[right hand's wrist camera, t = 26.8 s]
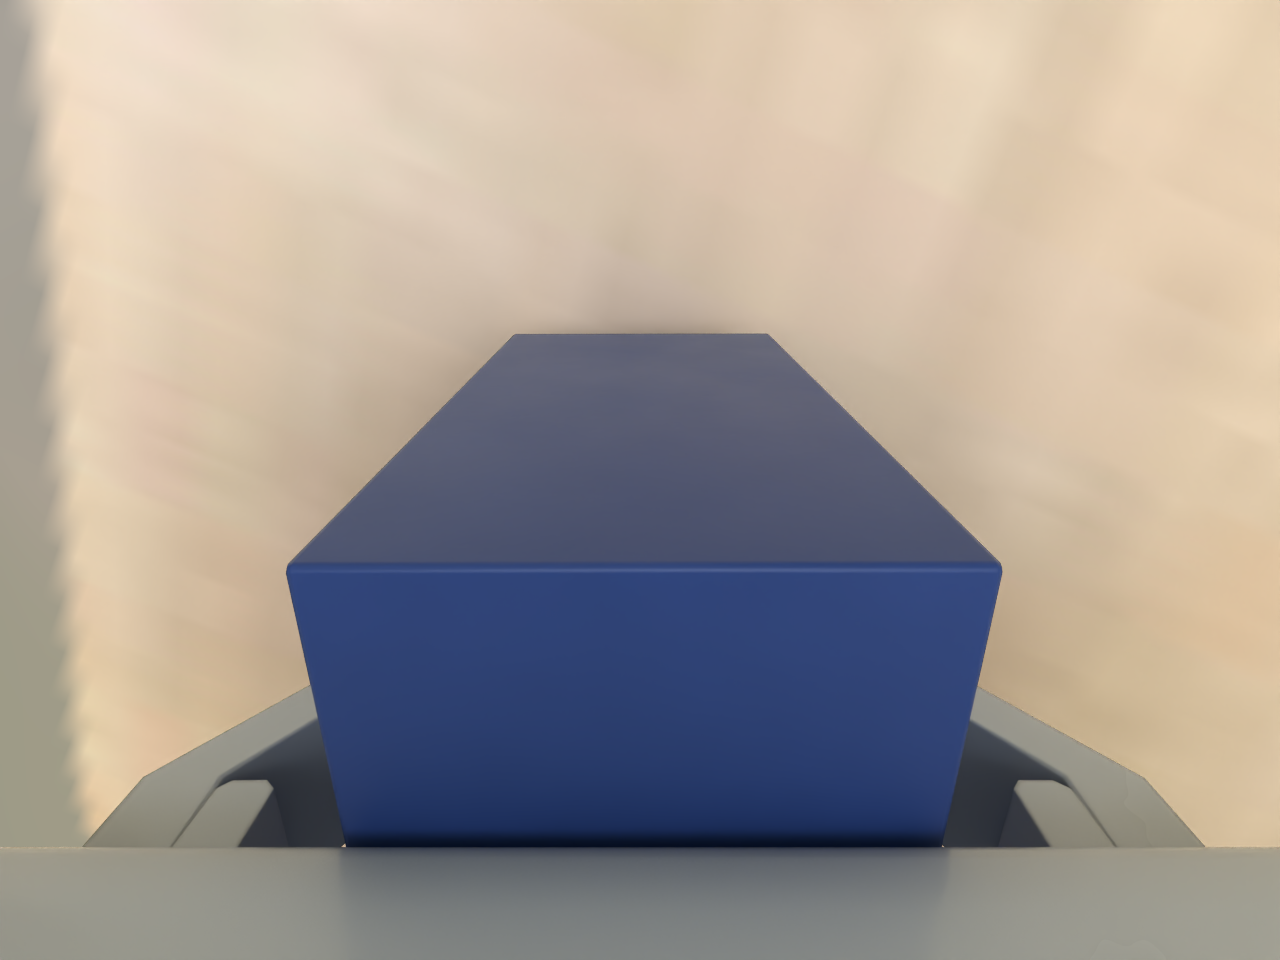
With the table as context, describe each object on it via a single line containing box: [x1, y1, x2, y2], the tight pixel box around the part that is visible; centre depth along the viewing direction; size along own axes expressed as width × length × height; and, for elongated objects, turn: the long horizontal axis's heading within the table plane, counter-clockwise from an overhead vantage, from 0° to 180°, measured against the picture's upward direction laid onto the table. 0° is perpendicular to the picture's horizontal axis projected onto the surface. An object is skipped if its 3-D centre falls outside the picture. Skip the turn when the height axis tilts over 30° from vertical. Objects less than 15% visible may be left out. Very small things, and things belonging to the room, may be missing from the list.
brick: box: [286, 334, 1002, 847], centre depth 10 cm, size 5×8×9 cm, turn 0°
